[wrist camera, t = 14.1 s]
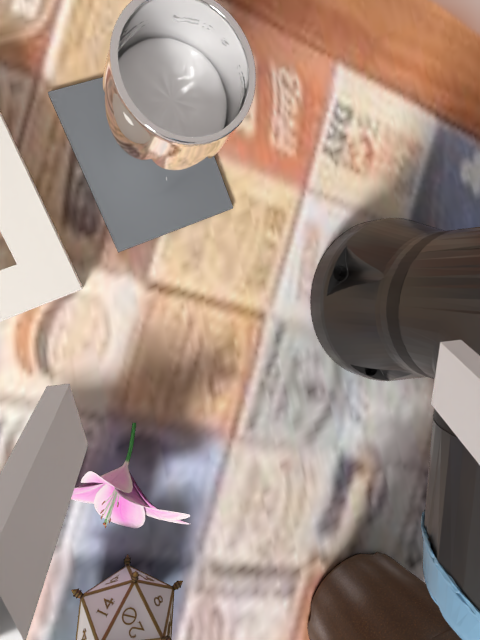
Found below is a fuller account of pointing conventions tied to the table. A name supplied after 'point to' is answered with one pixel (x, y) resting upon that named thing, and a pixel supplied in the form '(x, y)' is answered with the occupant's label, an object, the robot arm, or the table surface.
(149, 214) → the slate coaster
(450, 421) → the robot arm
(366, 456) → the table surface
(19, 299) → the board
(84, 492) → the lily
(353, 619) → the plant pot
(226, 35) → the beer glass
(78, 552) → the table surface
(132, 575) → the game die
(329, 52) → the table surface
